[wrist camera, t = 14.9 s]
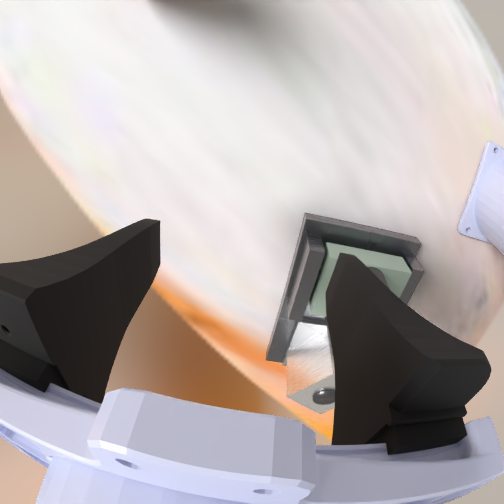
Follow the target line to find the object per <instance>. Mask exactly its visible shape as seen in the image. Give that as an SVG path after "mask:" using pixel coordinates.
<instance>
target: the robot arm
mask: <svg viewBox="0 0 504 504" xmlns="http://www.w3.org/2000/svg"><path fill="white" fill-rule="evenodd" d="M494 148H495V152H494ZM467 228H468V229H467ZM466 229H467V230H466ZM457 230H458V232H459V233H461V234H463V235H466V236H469V237H473V238H476V239H479V240H482V241H485V242H488V243H491V244H493V245H494V246H495V247H496V248H497V249H498V250H499V251H500V252H501V253H502V254H503V255H504V149H503V148H502V147H500V146H499V145H497V144H495V143H493V142H491V141H488V142H487V143H486V145H485V148H484V152H483V155H482V159H481V162H480V166H479V169H478V172H477V175H476V178H475V181H474V184H473V187H472V190H471V193H470V196H469V198H468V201H467V204H466V206H465V209H464V212H463V214H462V217H461V219H460V222H459V224H458V227H457ZM159 266H160V221H158V220H152V219H143V220H140V221H138V222H136V223H133V224H131V225H129V226H127V227H125V228H122V229H120V230H118V231H116V232H114V233H112V234H110V235H107V236H105V237H103V238H100V239H98V240H96V241H93V242H91V243H89V244H87V245H84V246H81V247H78V248H75V249H73V250H69V251H66V252H63V253H59V254H55V255H52V256H47V257H43V258H39V259H34V260H28V261H21V262H13V263H1V264H0V437H2V438H3V439H5V440H6V441H7V442H9V443H10V444H11V445H13V446H14V447H16V448H17V449H18V450H20V451H21V452H23V453H24V454H26V455H28V456H29V457H31V458H32V459H34V460H35V461H37V462H39V463H40V464H42V465H44V466H45V467H47V468H48V470H47V473H46V475H45V477H44V480H43V483H42V486H41V489H40V491H39V494H38V497H37V500H36V503H35V504H443V503H446V502H449V501H451V500H455V499H457V498H460V497H462V496H464V495H466V494H468V493H470V492H472V491H474V490H476V489H478V488H479V487H481V486H483V485H485V484H487V483H488V482H490V481H492V480H493V479H495V478H497V477H499V476H500V475H502V474H503V473H504V457H503V453H502V450H501V446H500V443H499V439H498V436H497V433H496V430H495V427H494V424H493V421H492V418H491V417H485V418H481V419H476V420H473V421H470V422H468V423H466V424H464V422H463V418H462V417H464V416H465V415H466V414H467V411H466V408H465V404H467V403H468V402H469V401H470V400H471V399H472V398H473V397H474V396H475V394H477V392H479V390H481V388H482V387H483V386H484V385H485V384H486V382H487V380H488V379H489V377H490V373H491V366H490V364H489V362H488V359H487V357H486V355H485V354H484V352H483V351H482V350H480V349H478V348H476V347H474V346H471V345H469V344H467V343H465V342H463V341H461V340H459V339H457V338H455V337H453V336H451V335H450V334H448V333H446V332H444V331H443V330H441V329H439V328H438V327H436V326H435V325H433V324H432V323H430V322H429V321H427V320H426V319H424V318H423V317H422V316H420V315H419V314H418V313H416V312H415V311H414V310H413V309H411V308H410V307H409V306H408V305H406V304H405V303H404V302H403V301H402V300H401V299H399V298H398V297H397V296H396V295H395V294H394V293H393V292H392V291H391V290H390V289H389V288H388V287H387V286H386V285H385V284H384V283H383V282H382V281H381V280H380V279H379V278H378V277H377V276H376V275H375V274H374V273H373V272H372V271H371V270H370V269H369V268H368V267H367V266H366V265H365V264H364V263H363V262H362V261H361V260H360V259H358V258H357V257H356V256H355V255H352V254H346V253H341V252H340V254H339V256H338V259H337V262H336V265H335V268H334V271H333V273H332V276H331V279H330V282H329V284H328V287H327V290H326V292H325V296H326V316H327V322H328V328H329V334H330V340H331V346H332V352H333V358H334V367H335V410H334V425H333V436H332V445H316V438H315V432H314V431H313V430H311V429H310V428H308V427H307V426H305V425H304V424H302V423H301V422H299V421H298V420H293V419H289V418H284V417H280V416H275V415H268V414H259V413H252V412H245V411H238V410H232V409H226V408H220V407H215V406H209V405H204V404H199V403H195V402H190V401H185V400H181V399H177V398H173V397H168V396H164V395H161V394H156V393H153V392H149V391H144V390H137V389H131V388H121V389H118V390H114V391H111V392H107V394H106V396H105V398H104V395H105V390H106V387H107V383H108V380H109V376H110V373H111V369H112V366H113V363H114V360H115V358H116V355H117V352H118V349H119V346H120V343H121V341H122V339H123V336H124V334H125V331H126V329H127V327H128V325H129V323H130V321H131V319H132V318H133V316H134V314H135V312H136V311H137V309H138V307H139V305H140V304H141V302H142V300H143V298H144V297H145V295H146V293H147V291H148V290H149V288H150V286H151V285H152V283H153V280H154V278H155V276H156V273H157V271H158V268H159ZM103 399H104V400H103Z"/></svg>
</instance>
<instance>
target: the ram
mask: <svg viewBox="0 0 504 504" xmlns="http://www.w3.org/2000/svg"><path fill="white" fill-rule="evenodd" d="M324 250H325V254H324V257H323V261H322V264H321V267H320V270H319V273H318V276H317V279H316V282H315V285H314V288H313V290H312V293H311V296H310V299H309V304H310V314H313V315H320V316H326V296H325V292H326V290H327V287H328V284H329V282H330V279H331V276H332V273H333V271H334V268H335V265H336V262H337V259H338V256H339V254H340V252H341V253H346V254H352V255H355V256H356V257H357V258H358V259H360V260H361V261H362V262H363V263H364V264H365V265H366V266H367V267H368V268H369V269H370V270H371V271H372V272H373V273H374V274H375V275H376V276H377V277H378V278H379V279H380V280H381V281H382V282H383V283H384V284H385V285H386V286H387V287H388V288H389V289H390V290H391V291H392V292H393V293H394V294H395V295H396V296H397V297H398V298H400V296H401V294H402V292H403V290H404V288H405V286H406V284H407V282H408V280H409V278H410V276H411V274H412V272H411V271H410V269H409V267H408V266H407V264H406V262H405V261H404V259H403V257H399V256H394V255H389V254H384V253H379V252H374V251H369V250H364V249H359V248H354V247H349V246H344V245H339V244H333V243H328V242H326V245H325V248H324Z"/></svg>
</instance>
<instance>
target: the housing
mask: <svg viewBox="0 0 504 504" xmlns="http://www.w3.org/2000/svg"><path fill="white" fill-rule="evenodd" d="M287 397H288V398H290V399H292V400H294V401H296V402H298V403H300V404H301V405H303V406H305V407H307V408H309V409H311V410H313V411H315V412H317V413H319V414H322V413H324V412H326V411H329V410H331V409H333V408H335V367H334V358H333V352H332V346H331V340H330V334H329V328H328V327H327V326H326V327H325V328H323V329H322V330H320V331H318V332H317V333H315V334H314V335H312V336H310V337H309V338H307V339H306V340H304V341H302V342H301V343H299V344H297V345H296V346H294V347H292V348H291V349H289V350H287Z"/></svg>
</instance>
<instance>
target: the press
mask: <svg viewBox="0 0 504 504" xmlns="http://www.w3.org/2000/svg"><path fill="white" fill-rule="evenodd" d="M326 242H328V243H333V244H339V245H344V246H349V247H354V248H359V249H364V250H369V251H374V252H379V253H384V254H389V255H394V256H399V257H403V259H404V261H405V262H406V264H407V266H408V267H409V269H410V271H411V272H412V274H411V276H410V278H409V280H408V282H407V284H406V286H405V288H404V290H403V292H402V294H401V296H400V298H399V299H401V300H402V301H403V302H404V303H405V304H406V305H407V303H408V301H409V299H410V298H411V296H412V294H413V292H414V290H415V288H416V286H417V284H418V282H419V280H420V278H421V276H422V274H423V272H424V270H423V269H422V267H421V266H420V264H419V263H418V261H417V260H416V258H415V256H416V254H417V252H418V249H419V247H420V245H421V243H420V242H419V240H418V239H417V238H416V237H412V236H408V235H404V234H400V233H396V232H392V231H387V230H383V229H379V228H374V227H370V226H365V225H361V224H356V223H352V222H347V221H342V220H338V219H333V218H328V217H323V216H318V215H313V214H308V213H305V214H304V218H303V222H302V226H301V230H300V234H299V238H298V242H297V246H296V250H295V253H294V257H293V261H292V265H291V268H290V272H289V276H288V279H287V283H286V287H285V290H284V294H283V297H282V301H281V304H280V308H279V311H278V315H277V318H276V322H275V325H274V329H273V332H272V335H271V339H270V342H269V345H268V349H267V352H266V360H268V361H275V362H282V365H284V366H287V350H289V349H291V348H292V347H294V346H296V345H297V344H299V343H301V342H302V341H304V340H306V339H307V338H309V337H310V336H312V335H314V334H315V333H317V332H318V331H320V330H322V329H323V328H325V327H326V326H327V327H328V322H327V316H320V315H313V314H310V304H309V299H310V296H311V293H312V290H313V288H314V285H315V282H316V279H317V276H318V273H319V270H320V267H321V264H322V261H323V257H324V254H325V250H324V248H325V245H326Z"/></svg>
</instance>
